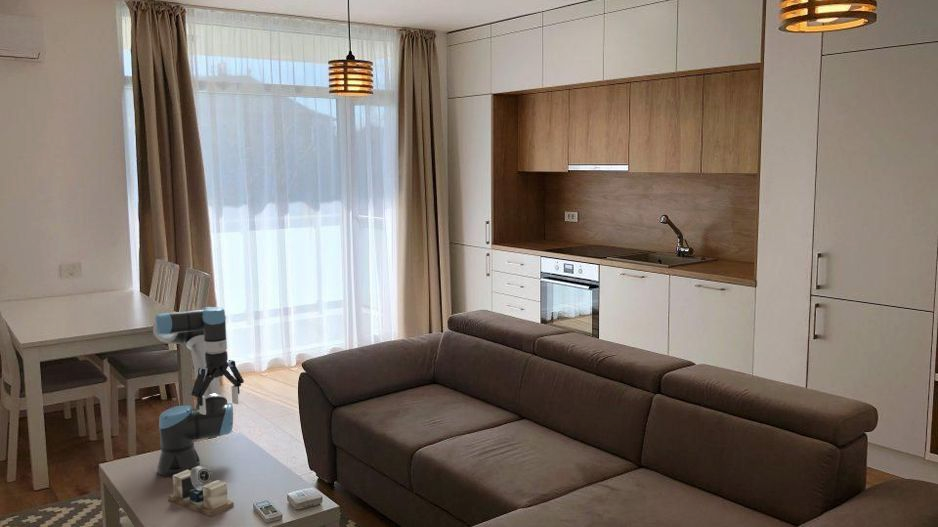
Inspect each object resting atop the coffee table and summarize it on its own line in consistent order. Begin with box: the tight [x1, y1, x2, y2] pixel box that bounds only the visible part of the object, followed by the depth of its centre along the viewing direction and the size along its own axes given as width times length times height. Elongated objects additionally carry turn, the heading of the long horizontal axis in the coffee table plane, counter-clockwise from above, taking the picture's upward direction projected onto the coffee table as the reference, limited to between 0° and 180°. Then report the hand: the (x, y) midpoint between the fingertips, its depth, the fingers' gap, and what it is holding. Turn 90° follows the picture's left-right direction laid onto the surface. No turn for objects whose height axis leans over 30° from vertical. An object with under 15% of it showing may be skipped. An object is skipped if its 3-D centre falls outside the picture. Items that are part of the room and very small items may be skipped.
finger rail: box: [168, 470, 235, 517], centre depth 264 cm, size 23×9×8 cm, turn 55°
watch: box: [189, 465, 212, 503], centre depth 264 cm, size 6×8×11 cm
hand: (219, 408), depth 280 cm, fingers open, 13 cm apart
